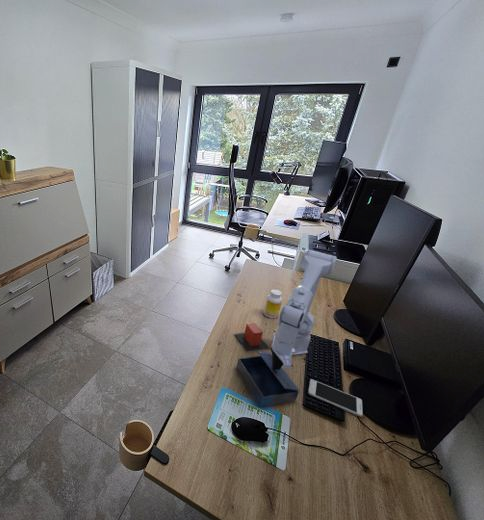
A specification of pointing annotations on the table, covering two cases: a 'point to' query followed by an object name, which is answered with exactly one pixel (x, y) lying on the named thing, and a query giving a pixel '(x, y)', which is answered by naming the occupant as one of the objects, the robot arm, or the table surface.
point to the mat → (247, 345)
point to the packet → (253, 334)
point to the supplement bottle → (273, 304)
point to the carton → (264, 383)
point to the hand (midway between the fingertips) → (275, 367)
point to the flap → (278, 372)
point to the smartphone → (336, 397)
